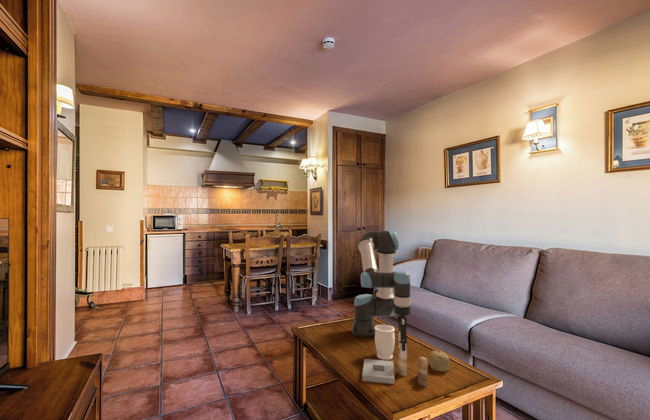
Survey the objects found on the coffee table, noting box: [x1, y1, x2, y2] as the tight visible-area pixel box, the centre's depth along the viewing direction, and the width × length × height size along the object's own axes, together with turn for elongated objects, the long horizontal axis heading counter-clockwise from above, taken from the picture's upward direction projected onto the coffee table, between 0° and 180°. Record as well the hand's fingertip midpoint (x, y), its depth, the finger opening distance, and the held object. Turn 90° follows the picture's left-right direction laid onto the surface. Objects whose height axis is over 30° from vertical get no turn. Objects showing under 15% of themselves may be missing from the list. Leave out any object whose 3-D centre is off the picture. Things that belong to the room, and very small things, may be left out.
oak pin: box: [417, 356, 428, 373], centre depth 140 cm, size 4×4×8 cm
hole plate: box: [361, 358, 395, 385], centre depth 142 cm, size 16×14×2 cm
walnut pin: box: [417, 370, 428, 388], centre depth 133 cm, size 4×4×5 cm
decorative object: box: [428, 350, 450, 373], centre depth 148 cm, size 9×10×10 cm
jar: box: [374, 324, 396, 361], centre depth 160 cm, size 11×10×15 cm
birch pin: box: [397, 345, 408, 377], centre depth 142 cm, size 4×4×12 cm
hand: (402, 351), depth 142 cm, fingers open, 13 cm apart
